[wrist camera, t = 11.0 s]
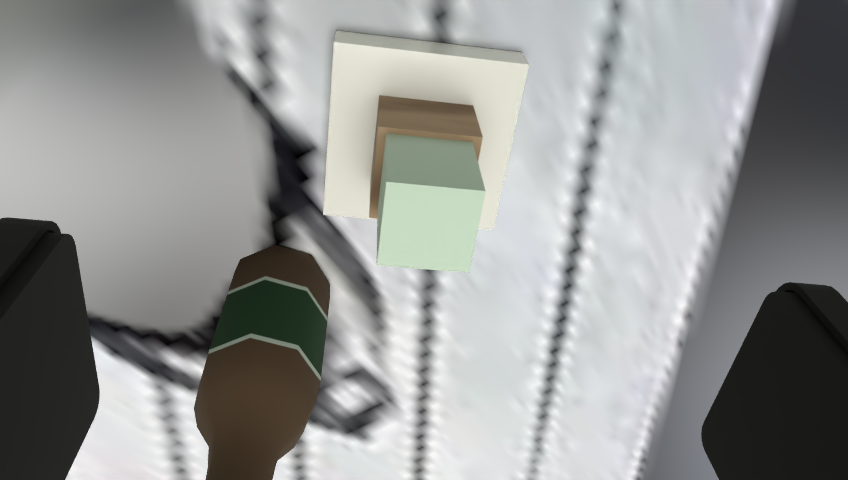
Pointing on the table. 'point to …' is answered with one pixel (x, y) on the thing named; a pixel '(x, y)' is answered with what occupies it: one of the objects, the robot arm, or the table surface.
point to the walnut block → (419, 129)
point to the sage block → (428, 203)
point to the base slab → (425, 80)
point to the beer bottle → (263, 364)
